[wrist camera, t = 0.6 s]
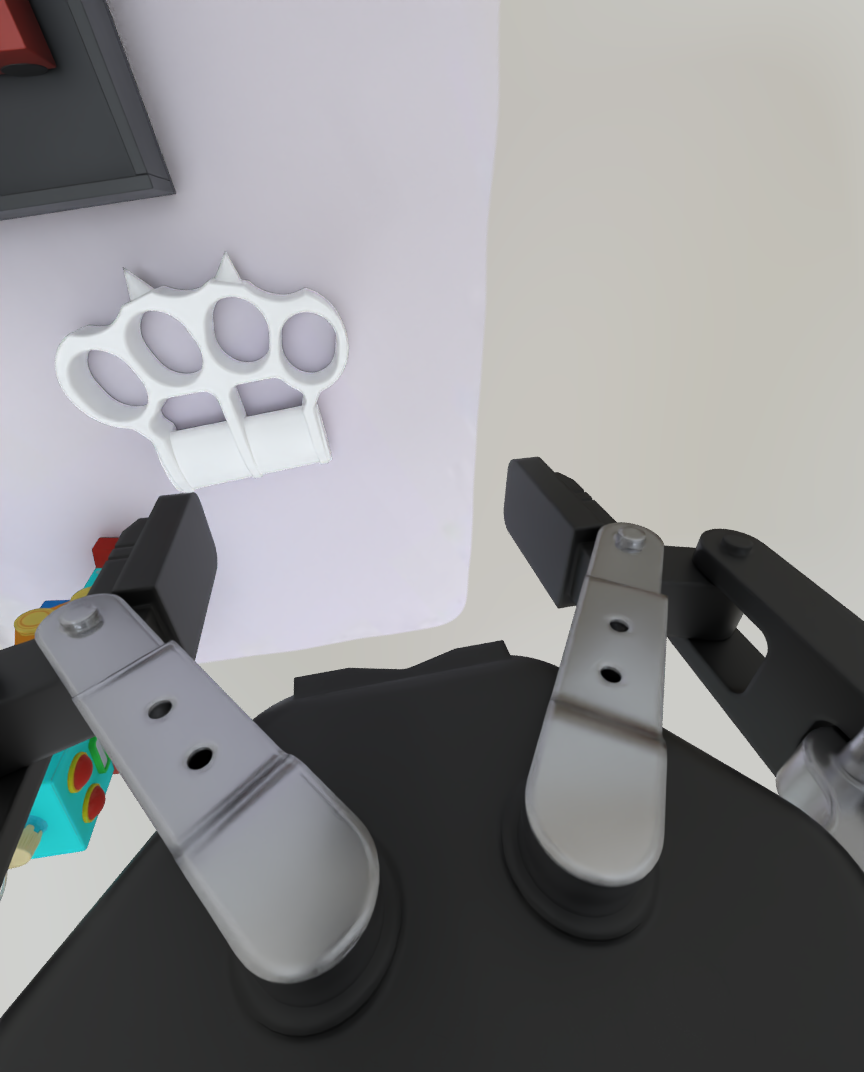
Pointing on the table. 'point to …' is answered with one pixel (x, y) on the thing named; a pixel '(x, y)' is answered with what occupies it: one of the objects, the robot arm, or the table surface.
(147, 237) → the table surface
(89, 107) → the storage box
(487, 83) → the table surface
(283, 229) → the table surface
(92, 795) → the toy robot
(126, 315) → the knuckle duster
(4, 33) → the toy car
